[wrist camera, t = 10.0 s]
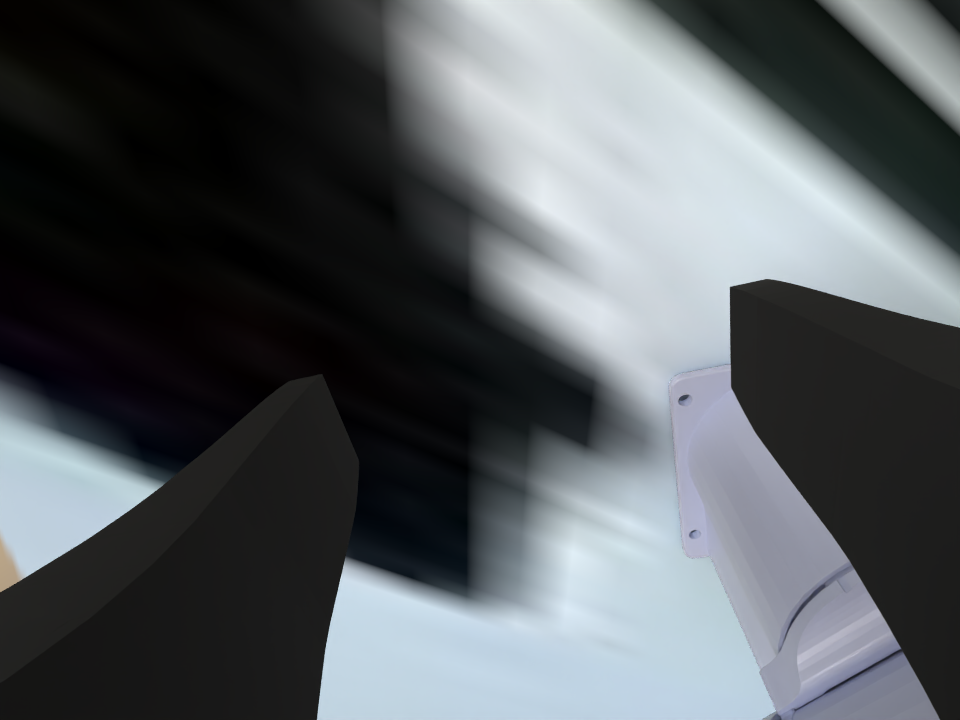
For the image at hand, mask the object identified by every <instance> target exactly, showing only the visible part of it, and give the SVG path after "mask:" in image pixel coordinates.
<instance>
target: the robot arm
mask: <svg viewBox="0 0 960 720" xmlns="http://www.w3.org/2000/svg"><path fill="white" fill-rule="evenodd" d="M730 345H731V364H729V365H724V366H718V367H713V368H707V369H702V370H697V371H691V372H686V373H681V374H678V375H676V376H674V377H673V378H672V379H671V381H670V382H669V399H670V410H671V422H672V433H673V445H674V457H675V468H676V480H677V491H678V503H679V515H680V526H681V538H682V547H683V550H684V552H685V555H686V556H687V557H690V558H702V557H708V556H710V558H711V560H712V562H713V565H714V567H715V569H716V571H717V574H718V576H719V578H720V580H721V583H722V585H723V587H724V589H725V592H726V594H727V596H728V598H729V601H730V603H731V605H732V607H733V610H734V612H735V614H736V616H737V619H738V621H739V623H740V625H741V628H742V630H743V632H744V634H745V637H746V639H747V641H748V643H749V646H750V648H751V650H752V652H753V655H754V657H755V659H756V661H757V664H758V666H759V668H760V671H759V673H760V675H761V677H762V680H763V682H764V684H765V686H766V689H767V691H768V693H769V696H770V698H771V700H772V702H773V705H774V707H775V709H776V712H774V713H772V714H770V715H769V716H767V717H765V718H763V719H762V720H960V328H958V327H954V326H950V325H945V324H941V323H937V322H932V321H928V320H924V319H919V318H916V317H912V316H908V315H904V314H900V313H896V312H892V311H889V310H885V309H881V308H877V307H874V306H870V305H867V304H863V303H860V302H856V301H852V300H849V299H845V298H842V297H838V296H835V295H831V294H828V293H824V292H821V291H817V290H814V289H810V288H806V287H802V286H799V285H795V284H791V283H786V282H782V281H777V280H770V279H765V280H760V281H756V282H751V283H746V284H742V285H737V286H732V287H730ZM683 395H689V397H688V398H687V399H686V400H683V401H679V398H680V397H681V396H683ZM358 473H359V460H358V458H357V455H356V453H355V451H354V448H353V446H352V444H351V441H350V439H349V437H348V434H347V432H346V429H345V427H344V425H343V422H342V420H341V418H340V415H339V413H338V411H337V408H336V406H335V404H334V401H333V399H332V397H331V394H330V392H329V389H328V387H327V385H326V382H325V380H324V378H323V375H322V374H321V375H316V376H312V377H307V378H302V379H298V380H293V381H289V382H288V383H286V384H285V385H283V386H282V387H280V388H279V389H278V390H276V391H275V392H274V393H272V394H271V395H270V396H269V397H268V398H266V399H265V400H264V401H263V402H262V403H260V404H259V405H258V406H257V407H256V408H254V409H253V410H252V411H251V412H250V413H249V414H248V415H246V416H245V417H244V418H243V419H242V420H241V421H240V422H238V423H237V424H236V425H235V426H234V427H233V428H231V429H230V430H229V431H228V432H227V433H226V434H225V435H223V436H222V437H221V438H220V439H219V440H218V441H217V442H215V443H214V444H213V445H212V446H211V447H210V448H208V449H207V450H206V451H205V452H204V453H202V454H201V455H200V456H199V457H197V458H196V459H195V460H194V461H192V462H191V463H190V464H189V465H188V466H186V467H185V468H184V469H183V470H181V471H180V472H179V473H178V474H176V475H175V476H174V477H173V478H172V479H170V480H169V481H168V482H167V483H165V484H164V485H163V486H162V487H161V488H159V489H158V490H157V491H155V492H154V493H153V494H151V495H150V496H149V497H147V498H146V499H145V500H143V501H142V502H141V503H139V504H138V505H137V506H135V507H134V508H132V509H131V510H130V511H128V512H127V513H125V514H124V515H122V516H121V517H120V518H118V519H117V520H115V521H114V522H112V523H111V524H109V525H108V526H107V527H105V528H104V529H102V530H101V531H99V532H98V533H96V534H95V535H93V536H92V537H90V538H89V539H87V540H86V541H84V542H83V543H81V544H80V545H78V546H76V547H75V548H73V549H71V550H70V551H68V552H66V553H65V554H63V555H62V556H60V557H58V558H57V559H55V560H53V561H52V562H50V563H48V564H47V565H45V566H44V567H42V568H40V569H39V570H37V571H35V572H34V573H32V574H31V575H29V576H27V577H26V578H24V579H22V580H21V581H19V582H17V583H16V584H14V585H12V586H11V587H9V588H7V589H6V590H4V591H2V592H0V720H317V713H318V704H319V696H320V688H321V679H322V671H323V663H324V654H325V648H326V642H327V637H328V632H329V626H330V621H331V617H332V613H333V608H334V604H335V600H336V595H337V591H338V587H339V582H340V578H341V574H342V569H343V565H344V561H345V556H346V552H347V547H348V543H349V538H350V534H351V529H352V525H353V520H354V515H355V510H356V500H357V489H358ZM693 530H696V531H695V532H691V531H693Z"/></svg>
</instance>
